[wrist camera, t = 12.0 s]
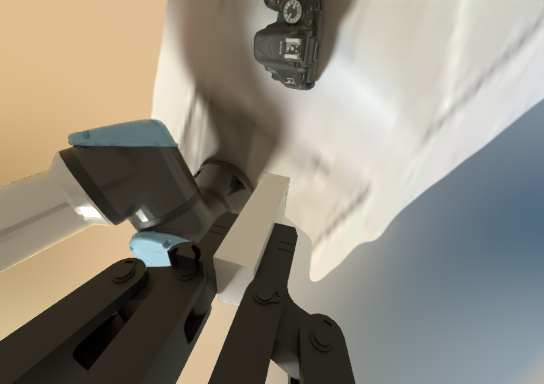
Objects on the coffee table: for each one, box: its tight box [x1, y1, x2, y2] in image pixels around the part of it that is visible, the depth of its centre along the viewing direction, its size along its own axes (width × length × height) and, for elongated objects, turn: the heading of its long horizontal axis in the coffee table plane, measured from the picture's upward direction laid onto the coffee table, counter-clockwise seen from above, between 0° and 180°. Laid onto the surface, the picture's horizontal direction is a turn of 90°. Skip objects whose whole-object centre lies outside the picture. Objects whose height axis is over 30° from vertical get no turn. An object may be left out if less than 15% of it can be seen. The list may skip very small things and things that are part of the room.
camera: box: [254, 0, 324, 90], centre depth 29 cm, size 13×10×10 cm
